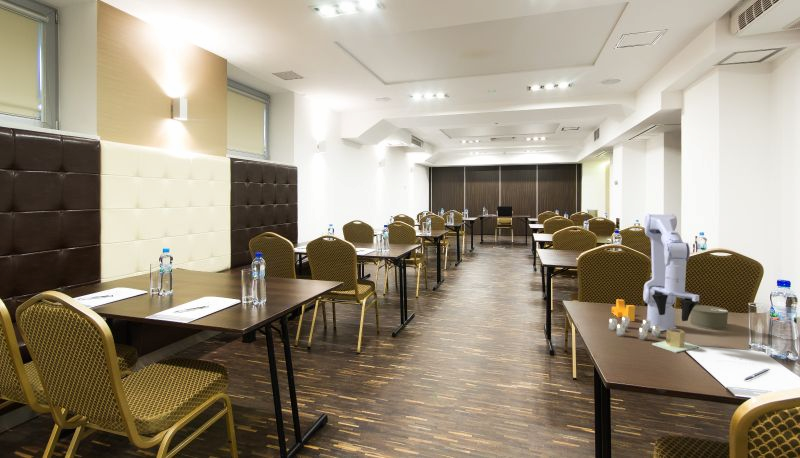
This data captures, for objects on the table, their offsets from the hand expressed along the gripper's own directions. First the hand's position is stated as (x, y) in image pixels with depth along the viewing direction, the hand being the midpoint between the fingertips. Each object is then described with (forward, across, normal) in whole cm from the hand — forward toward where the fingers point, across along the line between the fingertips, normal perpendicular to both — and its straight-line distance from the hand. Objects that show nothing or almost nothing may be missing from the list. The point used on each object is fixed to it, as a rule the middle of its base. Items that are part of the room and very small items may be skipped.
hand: (673, 317), depth 138 cm
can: (+10, -8, +35) cm, 38 cm away
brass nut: (+9, +2, -1) cm, 9 cm away
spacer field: (+9, -13, -1) cm, 16 cm away
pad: (+9, +2, -1) cm, 9 cm away
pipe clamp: (+10, -29, +14) cm, 34 cm away
